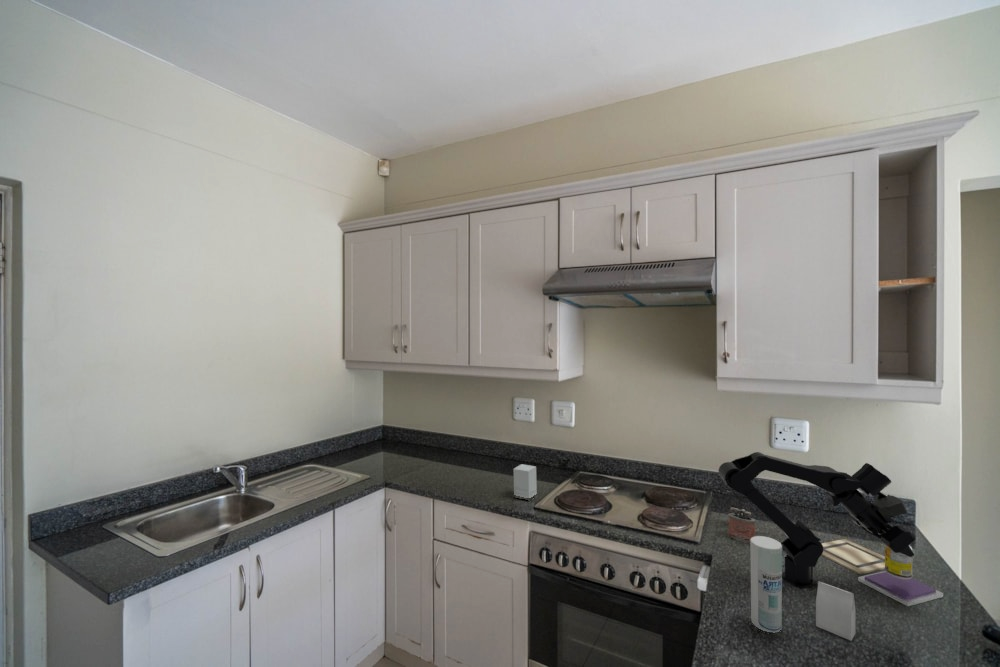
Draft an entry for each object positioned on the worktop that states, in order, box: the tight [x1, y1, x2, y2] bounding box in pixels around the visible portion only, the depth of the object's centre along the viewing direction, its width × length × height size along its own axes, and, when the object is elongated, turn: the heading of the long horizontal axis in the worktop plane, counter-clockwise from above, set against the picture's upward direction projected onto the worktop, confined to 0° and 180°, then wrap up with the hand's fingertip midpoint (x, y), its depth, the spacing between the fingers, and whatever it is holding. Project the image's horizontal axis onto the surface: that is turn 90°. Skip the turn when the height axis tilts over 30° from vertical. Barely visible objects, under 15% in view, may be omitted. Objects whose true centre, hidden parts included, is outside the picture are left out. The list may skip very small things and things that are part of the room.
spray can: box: [749, 535, 783, 633], centre depth 107 cm, size 6×6×20 cm
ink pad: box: [857, 570, 944, 607], centre depth 121 cm, size 13×12×2 cm
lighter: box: [728, 507, 756, 544], centre depth 150 cm, size 8×3×10 cm, turn 47°
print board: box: [820, 538, 885, 576], centre depth 138 cm, size 16×16×1 cm
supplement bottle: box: [884, 545, 914, 579], centre depth 121 cm, size 6×6×10 cm
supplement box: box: [512, 463, 538, 498], centre depth 189 cm, size 7×7×13 cm
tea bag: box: [815, 581, 856, 642], centre depth 106 cm, size 4×7×10 cm, turn 40°
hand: (904, 550), depth 121 cm, fingers closed on supplement bottle, 5 cm apart
